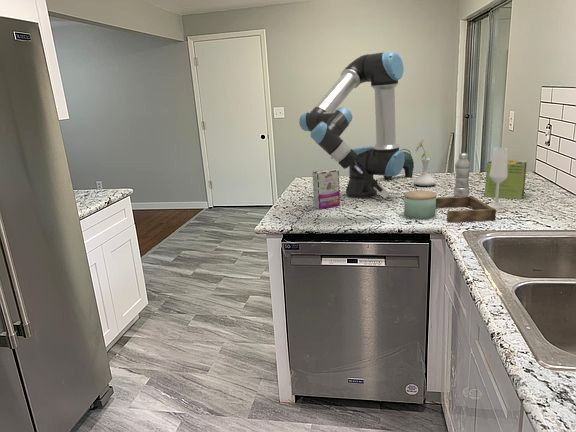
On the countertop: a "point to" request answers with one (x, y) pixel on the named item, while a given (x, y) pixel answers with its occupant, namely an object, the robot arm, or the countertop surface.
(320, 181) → the candy bar box
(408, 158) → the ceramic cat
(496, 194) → the champagne flute
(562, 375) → the countertop surface
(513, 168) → the protein box
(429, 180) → the flower in vase
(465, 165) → the plastic bottle
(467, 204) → the walnut bay
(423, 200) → the green canister
